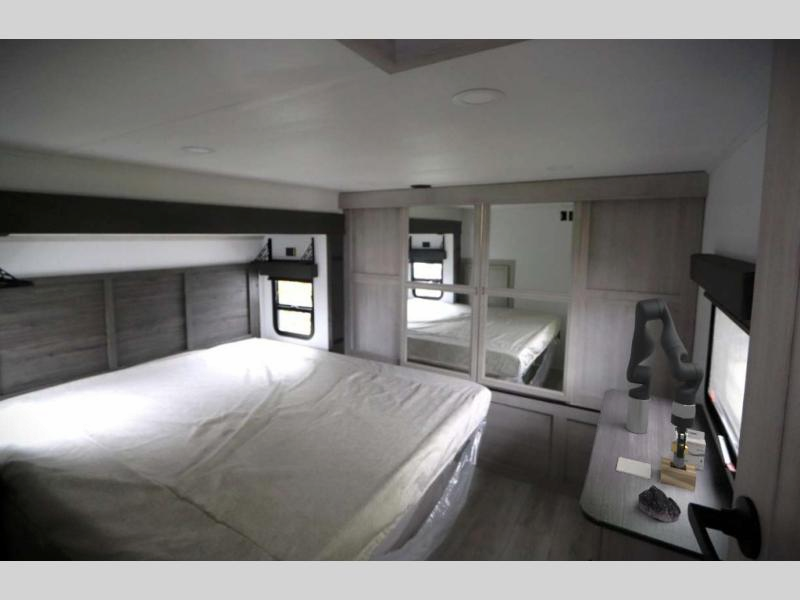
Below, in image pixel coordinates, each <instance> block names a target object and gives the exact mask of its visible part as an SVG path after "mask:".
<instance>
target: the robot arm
mask: <svg viewBox="0 0 800 600" xmlns="http://www.w3.org/2000/svg"><path fill="white" fill-rule="evenodd" d="M634 310H635V311H634V327H633V329H634V330H633V335H632V339H631V347H630V356H629V361H628V365H627V369H626V374H625V375H626V376H625V377H626V380H627V382H628V383H631V384H636V385H640V386H637V387H634V388H630V389H629V390H628V396H627V409H626V410H627V411H626V412H627V413H626V425H625V428H626V430H627V431H629V432H631V433H634V434H638V435H639V434H647V433H648V426H649V415H650V414H649V413H650V402H651V401H650V400H651V390H652V389H651V387H652V381H653V369H652V367H651V366H649V365H640V364H641V363H642V362H644V361H645V360H646V359H648V358H650V357H651V356H652V355H653V353H654V351H655V347H656V343H657V342H656V337H655V335H654V334H653V333H652V332H651V331H650V329H649V328H648V327H647V322H649V321H656V320H657V321H659V320H660V321H661V323H662V331H661V334H660V339H659V340H660V345H661V348H662V351H664V354H665V355H666V358H667V362H668V368H669V374H670V376H671V378H673V380H674V381H677V382H683V384H680V385H677V386H675V387H674V389H673V399H672V400H673V401H672V404H671V413H670V423H671V425H673V426H674V427H675V429H674V430H675V431H674V433H675V441H676V442H677V455H676V456H677V457H678V458H683V457H684V450H685V449H686V448H685V444H686V443H687V436H688V432H687V431H688V429H689V430H691V429H693V428H694V427H695V419H696V400H697V393H698V391H699V389H700V387H701V384H702V382H703V380H704V376H705V375H704V373H705V372H704V369H703V367H702V365H701V364H700V363H697V362H682V361H685V360H686V359H687V358H688V355H689V352H688V351H687V349H686V348H685V346H684V343H683V342H682V340H681V338H680V337H679V334H678V332H677V329H676V326H675V323H674V320H673V318H672V315H671V313H670V310H669V308H668V305H667V303H666V302H665V300H664V299H663V298H660V297H655V298H654V297H653V298H647V299H641V300H638V301H637V302H636V305H635V309H634ZM679 443H683V446H681V445H679Z"/></svg>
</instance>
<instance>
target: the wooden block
mask: <svg viewBox="0 0 800 600" xmlns="http://www.w3.org/2000/svg"><path fill="white" fill-rule="evenodd" d="M660 463H661V464H660V480H659V481H660V484H664V485H667V486H672V487H676V488H679V489H683V490H686V491H692V492H694V493H695V491H696V483H697V473H696V469H695V464H694V463H690V462H685V461H684V470H680V469H676V468H673V458H671V457H667V456H661V461H660Z"/></svg>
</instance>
